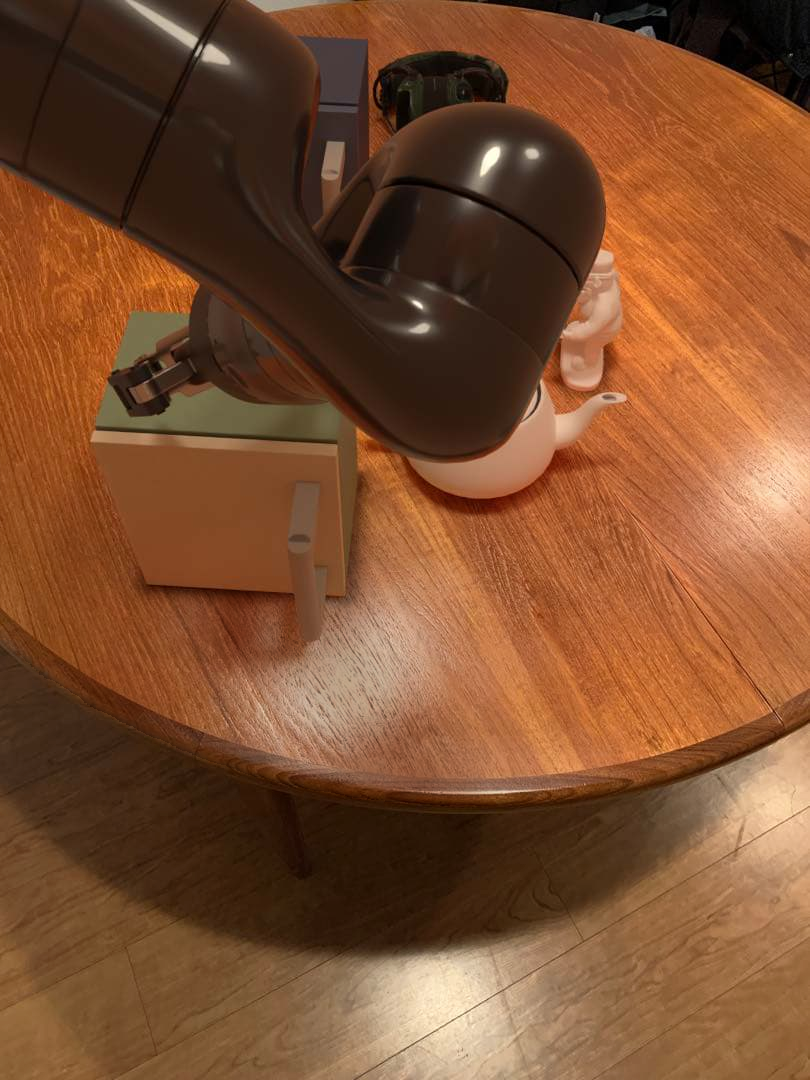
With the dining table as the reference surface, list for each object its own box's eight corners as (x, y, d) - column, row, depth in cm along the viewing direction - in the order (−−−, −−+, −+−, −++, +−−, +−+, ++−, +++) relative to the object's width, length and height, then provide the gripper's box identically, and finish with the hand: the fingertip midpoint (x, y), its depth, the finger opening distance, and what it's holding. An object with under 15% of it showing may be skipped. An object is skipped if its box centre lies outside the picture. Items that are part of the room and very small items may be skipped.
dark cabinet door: (355, 311, 93) (351, 151, 78) (197, 302, 93) (163, 141, 78) (361, 267, 97) (358, 106, 82) (209, 258, 97) (178, 96, 82)
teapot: (353, 506, 79) (349, 422, 71) (369, 389, 87) (367, 300, 78) (610, 525, 79) (639, 443, 70) (602, 406, 87) (628, 319, 78)
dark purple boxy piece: (361, 266, 97) (358, 103, 82) (210, 258, 97) (179, 93, 82) (369, 201, 103) (368, 39, 88) (227, 194, 103) (201, 30, 89)
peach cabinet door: (337, 661, 71) (326, 529, 56) (130, 648, 71) (65, 513, 56) (345, 586, 75) (337, 444, 60) (149, 574, 75) (93, 429, 60)
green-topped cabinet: (346, 584, 75) (337, 439, 60) (150, 572, 75) (93, 425, 60) (357, 477, 81) (353, 322, 66) (176, 467, 81) (131, 310, 67)
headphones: (531, 133, 101) (512, 65, 115) (449, 40, 94) (439, -22, 108) (441, 215, 108) (433, 140, 122) (358, 133, 101) (360, 64, 114)
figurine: (545, 321, 93) (565, 219, 83) (610, 328, 93) (638, 227, 83) (541, 387, 88) (562, 287, 78) (610, 394, 87) (640, 295, 78)
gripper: (375, 182, 44) (273, 234, 58) (109, 321, 40) (70, 341, 54) (442, 326, 46) (328, 342, 61) (199, 471, 42) (138, 451, 57)
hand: (207, 341), depth 58 cm, fingers open, 8 cm apart
